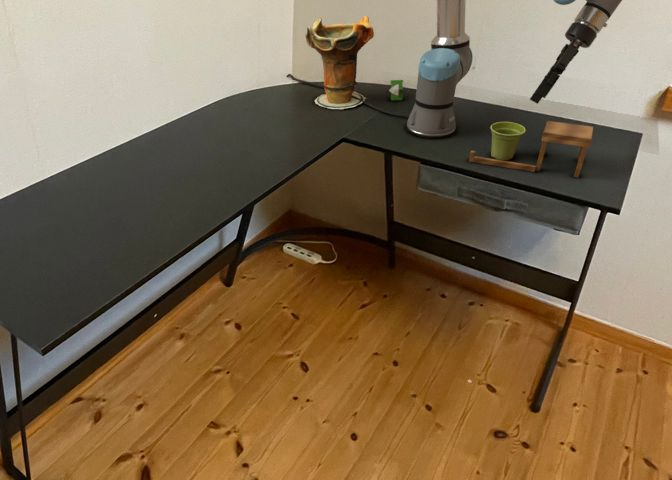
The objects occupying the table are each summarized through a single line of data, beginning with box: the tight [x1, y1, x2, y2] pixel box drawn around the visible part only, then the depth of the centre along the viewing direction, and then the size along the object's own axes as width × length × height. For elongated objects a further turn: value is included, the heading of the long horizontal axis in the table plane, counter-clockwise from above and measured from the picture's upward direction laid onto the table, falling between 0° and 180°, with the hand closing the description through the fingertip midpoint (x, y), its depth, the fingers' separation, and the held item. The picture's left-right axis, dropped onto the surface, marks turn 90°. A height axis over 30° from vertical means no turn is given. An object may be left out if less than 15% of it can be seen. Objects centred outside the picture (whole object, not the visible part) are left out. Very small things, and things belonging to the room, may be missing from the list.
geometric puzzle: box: [386, 79, 408, 101], centre depth 213 cm, size 7×7×8 cm
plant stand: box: [468, 120, 594, 178], centre depth 169 cm, size 30×13×11 cm, turn 64°
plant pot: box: [490, 121, 526, 161], centre depth 173 cm, size 9×9×9 cm
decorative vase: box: [305, 15, 375, 110], centre depth 207 cm, size 21×23×28 cm
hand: (536, 98), depth 171 cm, fingers open, 13 cm apart
